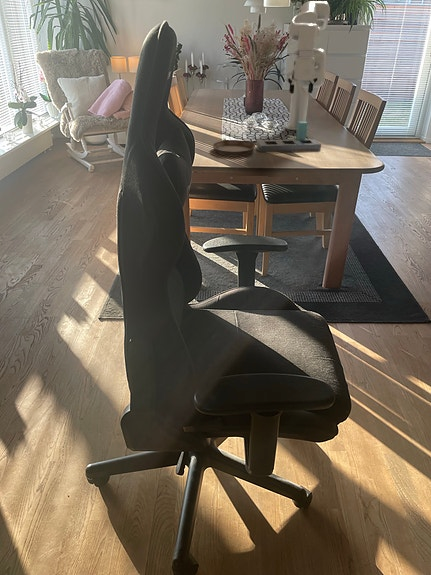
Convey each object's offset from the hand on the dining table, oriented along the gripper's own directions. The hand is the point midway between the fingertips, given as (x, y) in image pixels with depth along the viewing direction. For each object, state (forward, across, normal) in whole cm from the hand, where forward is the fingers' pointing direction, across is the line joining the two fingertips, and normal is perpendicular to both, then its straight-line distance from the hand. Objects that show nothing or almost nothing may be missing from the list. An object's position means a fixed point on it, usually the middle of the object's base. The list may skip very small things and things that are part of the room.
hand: (300, 93), depth 227 cm
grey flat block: (+24, -8, -10) cm, 27 cm away
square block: (+24, +3, 0) cm, 24 cm away
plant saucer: (+25, -36, -9) cm, 45 cm away
